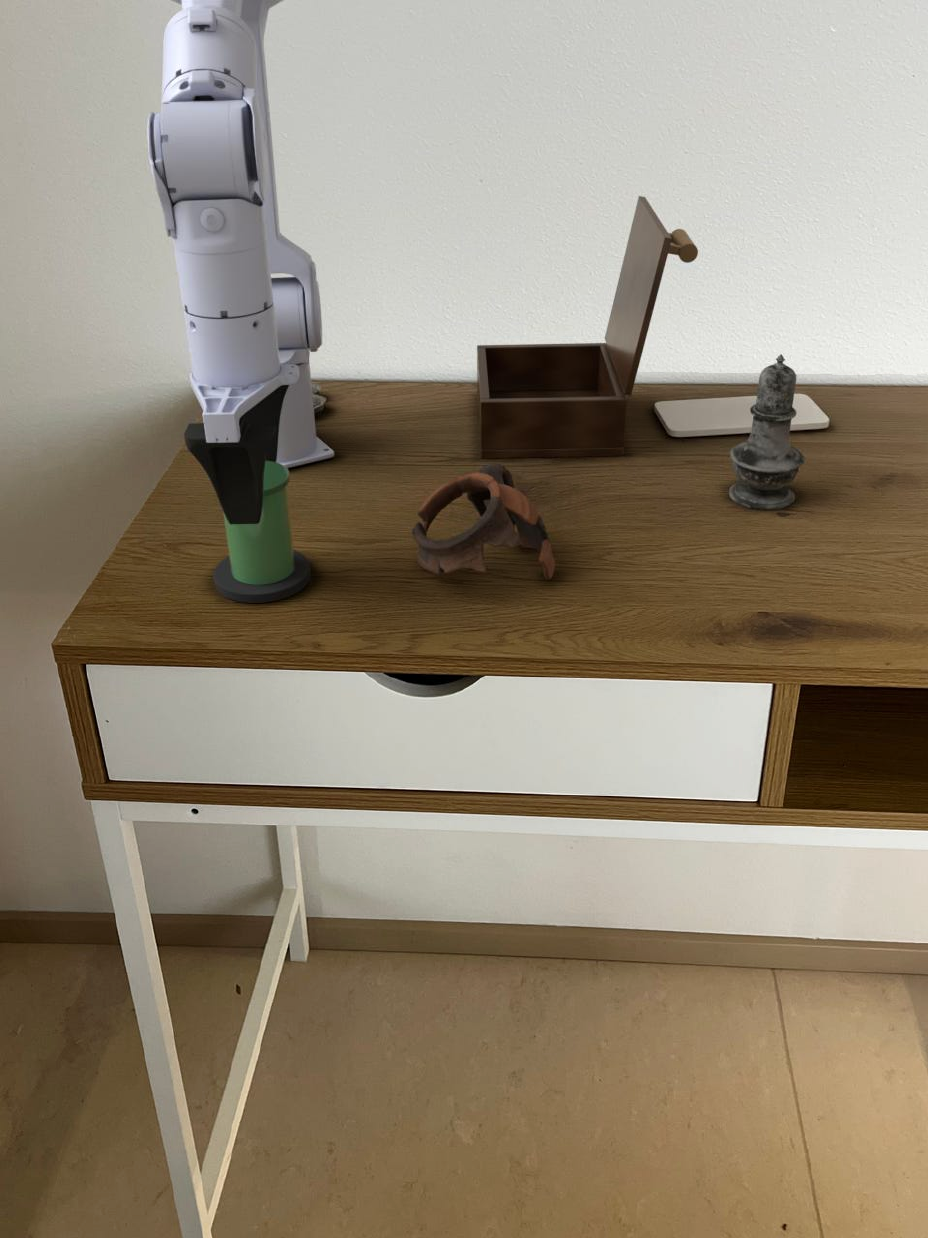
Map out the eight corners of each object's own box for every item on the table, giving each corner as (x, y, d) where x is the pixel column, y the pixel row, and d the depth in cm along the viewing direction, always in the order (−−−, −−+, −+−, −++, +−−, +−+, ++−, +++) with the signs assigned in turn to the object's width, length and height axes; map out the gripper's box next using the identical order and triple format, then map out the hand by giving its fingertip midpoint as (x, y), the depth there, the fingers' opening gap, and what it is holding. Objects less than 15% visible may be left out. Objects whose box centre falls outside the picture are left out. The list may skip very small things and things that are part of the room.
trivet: (204, 602, 81) (202, 593, 81) (227, 554, 87) (225, 545, 87) (301, 604, 81) (300, 595, 80) (318, 555, 87) (317, 546, 86)
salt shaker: (804, 486, 95) (827, 347, 89) (790, 517, 91) (812, 372, 84) (734, 475, 97) (751, 337, 91) (717, 503, 93) (733, 361, 86)
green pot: (217, 563, 84) (203, 470, 80) (283, 545, 86) (272, 454, 82) (242, 594, 80) (228, 498, 76) (310, 575, 83) (300, 481, 79)
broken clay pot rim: (564, 606, 81) (511, 529, 76) (448, 644, 85) (390, 572, 79) (565, 494, 89) (517, 417, 84) (459, 532, 93) (407, 461, 87)
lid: (664, 237, 91) (715, 245, 91) (638, 195, 103) (683, 203, 104) (624, 394, 98) (671, 402, 98) (604, 338, 110) (646, 345, 111)
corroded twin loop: (320, 388, 115) (319, 378, 115) (330, 417, 109) (329, 407, 108) (270, 392, 115) (269, 382, 114) (277, 423, 108) (276, 412, 107)
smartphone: (652, 401, 110) (805, 392, 110) (651, 408, 110) (804, 399, 111) (670, 431, 103) (832, 422, 104) (670, 439, 104) (831, 429, 105)
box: (481, 458, 101) (480, 402, 98) (477, 396, 113) (476, 344, 110) (623, 456, 101) (627, 399, 98) (604, 394, 113) (607, 342, 110)
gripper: (277, 342, 67) (298, 545, 74) (303, 270, 79) (319, 451, 86) (156, 344, 67) (189, 547, 74) (201, 272, 79) (226, 453, 86)
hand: (252, 496), depth 80 cm, fingers open, 7 cm apart
